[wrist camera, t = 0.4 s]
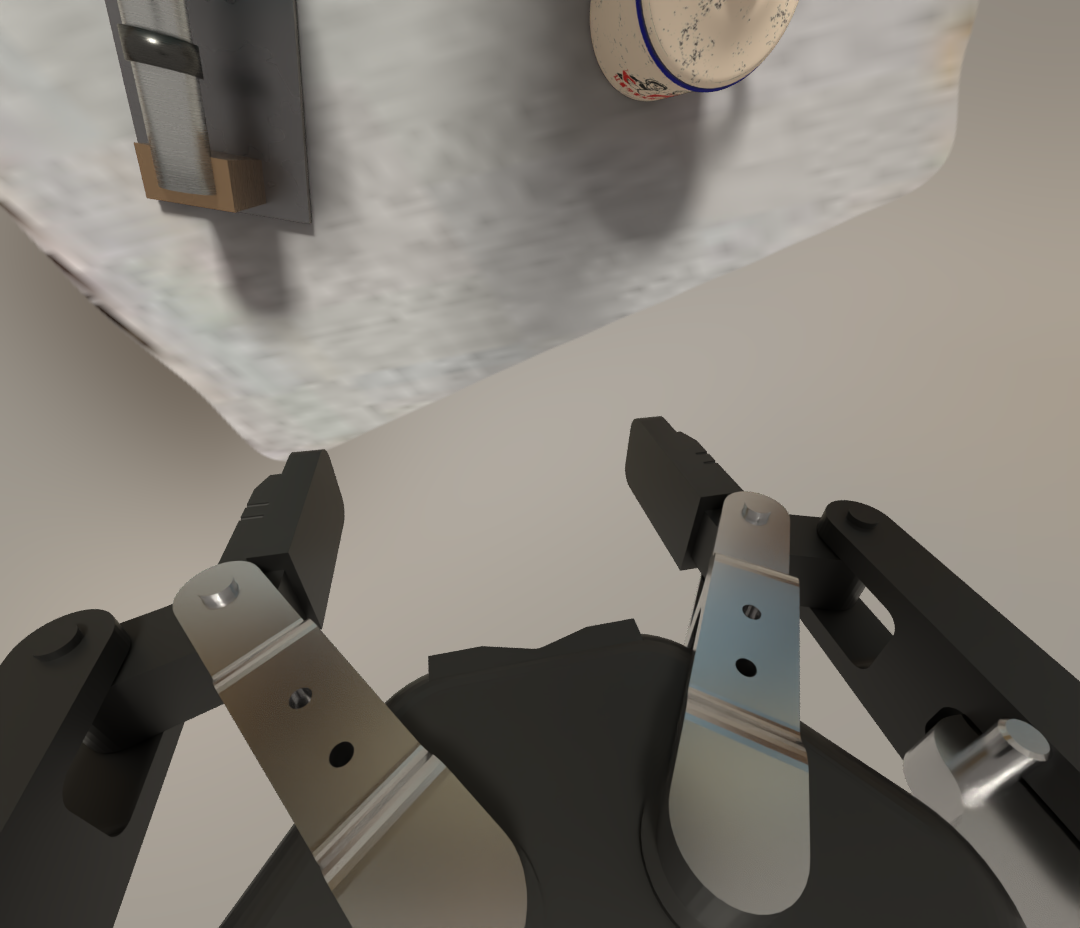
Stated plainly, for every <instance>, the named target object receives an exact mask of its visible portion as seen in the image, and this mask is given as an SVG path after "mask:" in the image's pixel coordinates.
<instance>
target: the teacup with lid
mask: <svg viewBox="0 0 1080 928" xmlns="http://www.w3.org/2000/svg"><path fill="white" fill-rule="evenodd" d="M798 1H799V0H591V5H590V31H591V39H592V44H593V48H594V52H595V55H596V58H597V61H598V63H599V66H600V68H601V70H602V72H603V73H604V75H605V77H606V78H607V79H608V81H609V82H610V83H611V84H612V85H613V87H615V88H616V89H617V90H618V91H619V92H621V93H622V94H623V95H625V96H627V97H629V98H632V99H635V100H639V101H655V100H660V99H664V98H668V97H672V96H676V95H680V94H684V93H688V92H692V91H694V92H714V91H719V90H722V89H725V88H728V87H730V86H732V85H734V84H736V83H738V82H739V81H741V80H742V79H744V78H745V77H747V76H748V75H749V74H750V73H752V72H753V71H754V70H755V69H756V68H757V67H758V66H759V65H760V64H761V63H762V62H763V61H764V60H765V59H766V57H767V56H768V55H769V54H770V53H771V51H772V50H773V49H774V47H775V46H776V45H777V43H778V42H779V40H780V38H781V37H782V35H783V34H784V32H785V30H786V28H787V26H788V24H789V23H790V20H791V18H792V16H793V14H794V12H795V9H796V7H797V4H798Z"/></svg>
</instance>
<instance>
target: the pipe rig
mask: <svg viewBox="0 0 1080 928" xmlns="http://www.w3.org/2000/svg"><path fill="white" fill-rule="evenodd" d="M105 3H106V7H107V12H108V16H109V20H110V25H111V29H112V33H113V38H114V42H115V46H116V50H117V55H118V59H119V63H120V68H121V72H122V76H123V81H124V85H125V89H126V93H127V98H128V102H129V106H130V111H131V115H132V119H133V124H134V128H135V132H136V136H137V141H138V143H135V142H134V146H135V150H136V154H137V158H138V163H139V167H140V171H141V175H142V180H143V184H144V188H145V192H146V197H147V198H150V199H156V200H162V201H168V202H174V203H180V204H186V205H192V206H198V207H204V208H210V209H216V210H222V211H228V212H234V213H236V212H241V213H247V214H253V215H259V216H265V217H271V218H277V219H283V220H289V221H295V222H301V223H307V224H310V223H312V220H311V206H310V192H309V179H308V165H307V151H306V137H305V124H304V110H303V96H302V82H301V68H300V55H299V41H298V27H297V13H296V0H105Z"/></svg>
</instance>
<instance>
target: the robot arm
mask: <svg viewBox="0 0 1080 928" xmlns="http://www.w3.org/2000/svg"><path fill="white" fill-rule="evenodd" d="M625 472H626V479H627V482H628V485H629V487H630V488H631V490H632V492H633V493H634V495H635V497H636V499H637V500H638V502H639V503H640V505H641V507H642V508H643V510H644V511H645V513H646V515H647V517H648V518H649V520H650V521H651V523H652V525H653V526H654V528H655V530H656V531H657V533H658V535H659V536H660V538H661V539H662V541H663V543H664V545H665V546H666V548H667V549H668V551H669V553H670V554H671V556H672V557H673V559H674V561H675V562H676V564H677V566H678V568H679V569H680V570H687V569H693V568H698V569H699V570H700V572H701V576H700V579H699V583H698V587H697V591H696V596H695V600H694V604H693V609H692V613H691V618H690V622H689V626H688V630H687V635H686V639H685V643H684V645H682V644H679V643H677V642H674V641H672V640H669V639H665V638H662V637H658V636H653V635H648V634H640V632H639V629H638V627H637V625H636V623H635V620H634V619H628V620H622V621H617V622H612V623H606V624H600V625H595V626H590V627H585V628H583V629H581V630H579V631H577V632H575V633H572V634H570V635H568V636H566V637H564V638H562V639H559V640H557V641H555V642H553V643H551V644H548V645H546V646H544V647H541V648H538V649H524V648H505V647H504V648H503V647H486V646H481V647H475V648H470V649H465V650H459V651H454V652H449V653H443V654H438V655H432V656H428V659H429V660H428V662H429V663H428V665H429V674H426V675H424V676H422V677H420V678H418V679H416V680H415V681H413V682H411V683H409V684H408V685H406V686H405V687H404V688H402V689H401V690H399V691H398V692H397V693H395V694H394V695H393V696H392V697H391V698H390V699H389V700H388V701H386V702H385V703H384V702H383V701H382V700H381V699H380V697H379V696H378V695H377V694H376V693H375V692H374V691H373V689H372V688H371V687H370V686H369V685H368V684H367V682H366V681H365V680H364V679H363V678H362V677H361V676H360V674H359V673H358V672H357V671H356V670H355V669H354V668H353V667H352V665H351V664H350V663H349V662H348V661H347V660H346V659H345V657H344V656H343V655H342V654H341V653H340V652H339V651H338V649H337V648H336V647H335V646H334V645H333V644H332V643H331V642H330V640H329V639H328V638H327V637H326V636H325V634H324V633H323V632H322V631H321V630H320V629H322V626H323V622H324V616H325V612H326V607H327V602H328V598H329V593H330V588H331V583H332V578H333V573H334V568H335V563H336V559H337V553H338V548H339V544H340V539H341V533H342V529H343V524H344V504H343V500H342V496H341V493H340V490H339V486H338V483H337V480H336V476H335V473H334V470H333V467H332V464H331V460H330V457H329V455H328V453H327V451H326V450H325V449H322V450H312V451H302V452H292V453H291V454H290V455H289V458H288V460H287V462H286V465H285V467H284V470H283V472H282V474H277V475H270V476H269V477H268V478H267V479H265V480H264V481H263V482H262V483H261V484H260V485H259V486H258V487H256V488H255V489H254V491H253V493H252V495H251V497H250V499H249V502H248V503H247V508H245V510H244V512H243V514H242V516H241V521H239V522H238V524H237V526H236V528H235V530H234V532H233V535H232V537H231V538H230V540H229V543H228V545H227V547H226V549H225V551H224V553H223V555H222V557H221V559H220V561H219V563H218V565H216V566H213V567H211V568H209V569H206V570H204V571H202V572H201V573H199V574H197V575H196V576H194V577H193V578H191V579H190V580H189V581H188V582H187V583H186V584H185V585H184V586H183V587H182V588H181V589H180V590H179V592H178V593H177V594H176V597H175V598H174V601H173V604H171V605H169V606H167V607H164V608H161V609H159V610H156V611H153V612H151V613H148V614H145V615H142V616H139V617H136V618H134V619H131V620H128V621H125V622H122V623H120V624H119V623H118V621H117V620H116V619H115V618H114V617H113V615H111V614H110V613H109V612H107V611H104V610H99V609H90V610H83V611H78V612H74V613H71V614H68V615H65V616H62V617H60V618H58V619H55V620H53V621H51V622H49V623H47V624H45V625H44V626H42V627H40V628H39V629H37V630H36V631H34V632H33V633H31V634H30V635H28V636H27V637H26V638H25V639H23V640H22V641H21V642H20V643H19V644H18V645H17V646H15V647H14V648H13V649H12V651H11V652H10V653H9V654H8V655H7V657H6V658H5V660H4V661H3V662H2V664H1V665H0V928H113V926H114V923H115V920H116V917H117V914H118V911H119V909H120V906H121V903H122V900H123V897H124V894H125V891H126V888H127V885H128V883H129V880H130V877H131V874H132V871H133V868H134V866H135V863H136V859H137V857H138V854H139V851H140V848H141V845H142V843H143V840H144V837H145V834H146V831H147V828H148V825H149V822H150V820H151V817H152V814H153V811H154V808H155V805H156V802H157V799H158V796H159V794H160V791H161V788H162V785H163V782H164V779H165V777H166V773H167V771H168V768H169V765H170V762H171V759H172V756H173V753H174V751H175V748H176V745H177V742H178V739H179V736H180V733H181V731H182V728H183V725H184V722H185V721H187V720H189V719H192V718H194V717H196V716H198V715H200V714H203V713H205V712H207V711H209V710H211V709H213V708H216V707H218V706H220V705H222V704H225V706H226V708H227V709H228V711H229V713H230V715H231V716H232V718H233V720H234V721H235V723H236V725H237V726H238V728H239V730H240V732H241V733H242V735H243V737H244V738H245V740H246V742H247V743H248V745H249V747H250V749H251V750H252V752H253V754H254V755H255V757H256V759H257V760H258V762H259V764H260V766H261V767H262V769H263V770H264V772H265V774H266V776H267V777H268V779H269V781H270V782H271V784H272V786H273V788H274V789H275V791H276V793H277V795H278V796H279V798H280V800H281V801H282V803H283V805H284V806H285V808H286V810H287V811H288V813H289V815H290V817H291V818H292V820H293V822H294V824H293V826H292V827H291V829H290V830H289V832H288V833H287V834H286V836H285V837H284V838H283V840H282V841H281V842H280V844H279V845H278V846H277V848H276V849H275V851H274V852H273V853H272V855H271V856H270V858H269V859H268V860H267V862H266V863H265V865H264V866H263V867H262V869H261V870H260V872H259V873H258V874H257V875H256V877H255V878H254V880H253V881H252V882H251V884H250V885H249V886H248V888H247V889H246V891H245V892H244V893H243V895H242V896H241V898H240V899H239V900H238V902H237V903H236V904H235V906H234V907H233V909H232V910H231V911H230V913H229V914H228V915H227V917H226V918H225V920H224V921H223V922H222V924H221V925H220V926H219V928H1080V681H1079V680H1077V679H1076V678H1075V677H1074V676H1073V675H1072V674H1071V673H1069V672H1068V671H1067V670H1066V669H1065V668H1064V667H1062V666H1061V665H1060V664H1059V663H1058V662H1057V661H1055V660H1054V659H1053V658H1052V657H1051V656H1049V655H1048V654H1047V653H1046V652H1045V651H1044V650H1042V649H1041V648H1040V647H1039V646H1038V645H1037V644H1036V643H1034V642H1033V641H1032V640H1031V639H1030V638H1029V637H1027V636H1026V635H1025V634H1024V633H1023V632H1022V631H1020V630H1019V629H1018V628H1017V627H1016V626H1015V625H1013V624H1012V623H1011V622H1010V621H1009V620H1008V619H1007V618H1005V617H1004V616H1003V615H1002V614H1001V613H1000V612H998V611H997V610H996V609H995V608H994V607H993V606H991V605H990V604H989V603H988V602H987V601H986V600H984V599H983V598H982V597H981V596H980V595H979V594H977V593H976V592H975V591H974V590H973V589H972V588H970V587H969V586H968V585H967V584H966V583H965V582H963V581H962V580H961V579H960V578H959V577H958V576H956V575H955V574H954V573H953V572H952V571H951V570H949V569H948V568H947V567H946V566H945V565H943V564H942V563H941V562H940V561H939V560H938V559H937V558H936V557H934V556H933V555H932V554H931V553H930V552H929V551H927V550H926V549H925V548H924V547H923V546H922V545H920V544H919V543H918V542H917V541H916V540H915V539H913V538H912V537H911V536H910V535H909V534H907V533H906V532H905V531H904V530H903V529H902V528H901V527H899V526H898V525H897V524H896V523H895V522H894V521H893V520H891V519H890V518H889V517H888V516H886V515H885V514H883V513H882V512H880V511H879V510H877V509H875V508H873V507H871V506H868V505H865V504H862V503H859V502H854V501H847V500H840V501H834V502H831V503H830V504H828V505H827V507H826V509H825V511H824V513H823V515H822V517H810V516H799V515H790V514H789V513H788V512H787V510H786V509H785V508H784V507H783V506H782V505H781V504H780V503H778V502H777V501H776V500H774V499H772V498H770V497H768V496H765V495H762V494H759V493H754V492H748V491H743V490H742V489H741V488H740V487H739V486H738V484H737V483H736V482H735V481H734V480H733V479H732V478H731V477H730V476H729V475H728V474H727V473H726V472H725V471H724V470H723V468H722V467H721V466H720V465H719V464H718V463H715V460H714V459H713V458H712V457H711V455H710V454H707V451H706V450H705V449H704V448H703V447H702V446H701V445H700V444H699V443H698V442H697V441H696V440H695V439H693V438H691V437H689V436H688V435H686V434H684V433H682V432H676V431H675V430H674V429H673V428H672V427H671V425H670V424H669V423H668V422H667V421H666V420H665V419H664V418H663V417H662V416H658V417H648V418H637V419H634V420H633V422H632V425H631V430H630V437H629V443H628V450H627V457H626V464H625ZM865 587H867V588H868V589H869V590H870V591H871V593H872V594H874V596H875V597H876V598H877V599H878V600H879V601H880V602H881V603H882V604H883V605H884V607H885V608H886V609H887V610H888V611H889V613H890V614H891V616H892V618H893V621H894V624H895V632H894V635H892V634H891V633H890V632H889V631H888V630H887V628H886V627H885V626H884V625H883V624H882V623H881V622H880V620H879V619H877V617H876V616H875V615H874V614H873V613H872V612H871V610H870V609H869V608H868V607H867V606H866V605H865V604H864V603H863V601H862V600H861V599H860V598H859V596H860V595H861V593H862V592H863V590H864V588H865ZM800 619H801V620H802V622H803V623H804V625H805V626H806V627H807V629H808V630H809V631H810V633H811V634H812V636H813V637H814V638H815V640H816V641H817V642H818V644H819V645H820V647H821V648H822V649H823V651H824V652H825V653H826V655H827V656H828V657H829V659H830V660H831V662H832V663H833V664H834V666H835V667H836V669H837V670H838V671H839V673H840V674H841V675H842V677H843V678H844V679H845V681H846V682H847V684H848V685H849V686H850V688H851V689H852V691H853V692H854V693H855V695H856V696H857V697H858V699H859V700H860V702H861V703H862V704H863V706H864V707H865V708H866V710H867V711H868V713H869V714H870V715H871V717H872V718H873V719H874V721H875V722H876V724H877V725H878V726H879V728H880V729H881V730H882V732H883V733H884V734H885V736H886V737H887V739H888V740H889V741H890V743H891V744H892V745H893V747H894V748H895V750H896V751H897V753H898V754H899V755H900V757H901V758H902V759H903V771H904V775H905V779H906V781H907V783H908V786H909V788H910V789H911V791H912V792H911V793H908V792H907V791H905V790H904V789H902V788H901V787H899V786H898V785H896V784H895V783H893V782H892V781H890V780H889V779H887V778H886V777H884V776H882V775H881V774H880V773H878V772H877V771H875V770H874V769H872V768H871V767H869V766H867V765H866V764H864V763H863V762H862V761H860V760H858V759H857V758H855V757H854V756H852V755H851V754H849V753H848V752H846V751H845V750H843V749H842V748H840V747H839V746H837V745H836V744H834V743H833V742H831V741H830V740H828V739H826V738H825V737H824V736H822V735H821V734H819V733H818V732H816V731H815V730H813V729H812V728H810V727H809V726H807V725H806V724H804V723H803V722H801V721H800V645H799V644H800V642H799V641H800V634H799V633H800V627H799V626H800V625H799V624H800Z"/></svg>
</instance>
